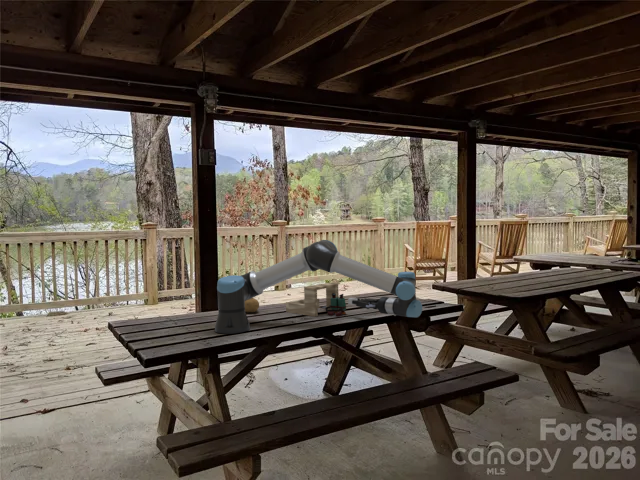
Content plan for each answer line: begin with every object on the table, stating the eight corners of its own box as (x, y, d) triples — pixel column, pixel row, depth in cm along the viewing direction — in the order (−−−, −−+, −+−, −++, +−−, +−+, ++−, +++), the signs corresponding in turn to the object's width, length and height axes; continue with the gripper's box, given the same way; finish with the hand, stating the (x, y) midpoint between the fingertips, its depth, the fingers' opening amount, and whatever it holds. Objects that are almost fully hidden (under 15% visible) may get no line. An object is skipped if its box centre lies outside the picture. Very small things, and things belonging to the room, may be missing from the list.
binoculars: (321, 297, 230) (332, 292, 238) (323, 317, 231) (334, 312, 239) (337, 298, 225) (347, 293, 233) (339, 319, 226) (349, 313, 235)
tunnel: (314, 316, 230) (314, 288, 229) (286, 311, 245) (285, 284, 244) (338, 310, 243) (338, 283, 242) (310, 306, 258) (309, 281, 257)
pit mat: (330, 309, 249) (330, 308, 249) (320, 307, 253) (320, 307, 253) (340, 306, 254) (340, 306, 254) (330, 305, 259) (330, 304, 259)
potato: (246, 315, 238) (246, 300, 237) (236, 311, 250) (236, 296, 249) (264, 313, 243) (263, 297, 242) (253, 309, 255) (253, 294, 254)
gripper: (380, 316, 205) (340, 310, 222) (397, 311, 215) (357, 306, 231) (380, 299, 205) (339, 295, 221) (397, 295, 214) (357, 291, 231)
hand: (348, 300), depth 226 cm, fingers closed
